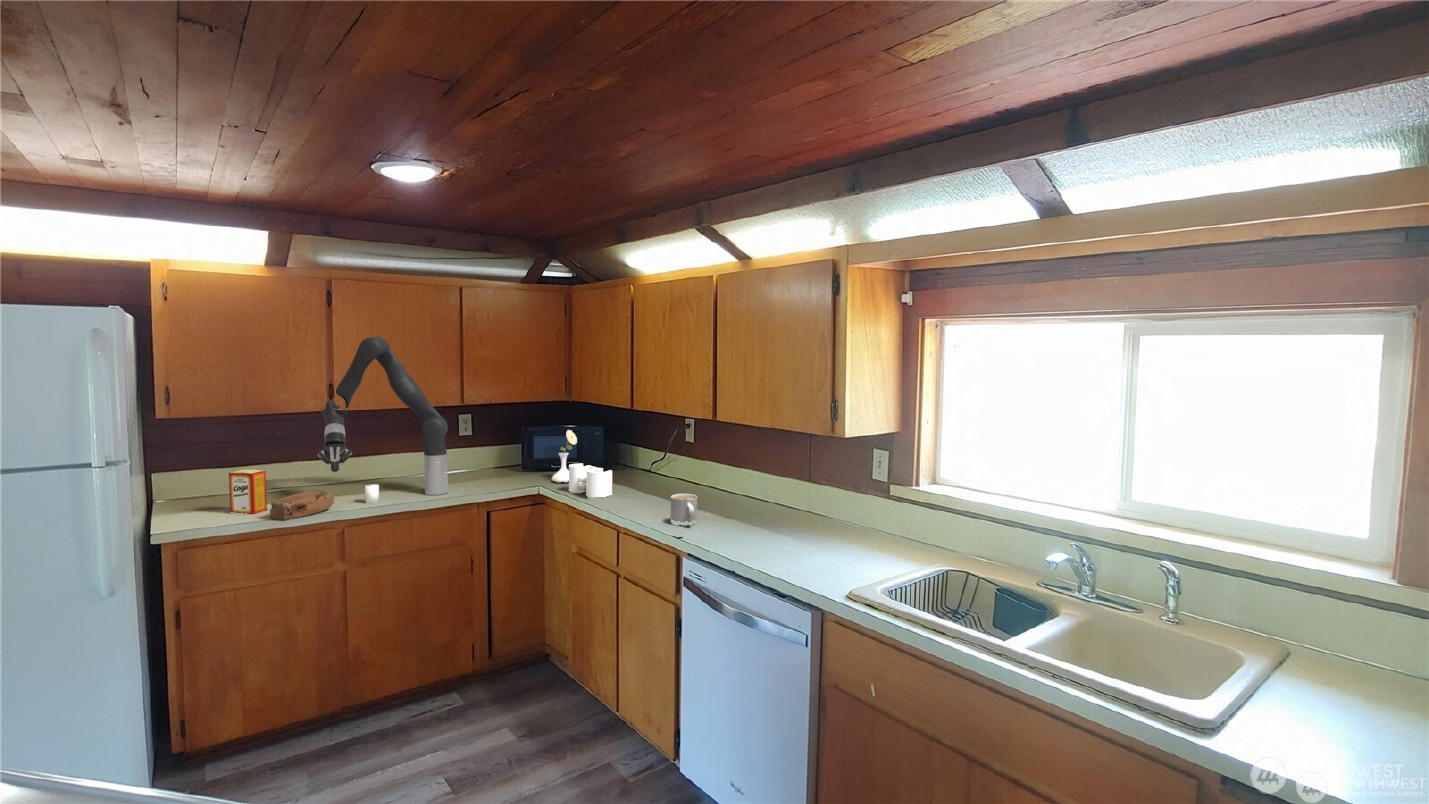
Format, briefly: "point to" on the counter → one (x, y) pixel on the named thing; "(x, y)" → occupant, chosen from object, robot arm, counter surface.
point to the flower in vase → (563, 472)
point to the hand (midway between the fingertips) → (335, 470)
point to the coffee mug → (683, 507)
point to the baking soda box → (247, 491)
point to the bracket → (590, 480)
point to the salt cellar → (372, 493)
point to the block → (301, 504)
